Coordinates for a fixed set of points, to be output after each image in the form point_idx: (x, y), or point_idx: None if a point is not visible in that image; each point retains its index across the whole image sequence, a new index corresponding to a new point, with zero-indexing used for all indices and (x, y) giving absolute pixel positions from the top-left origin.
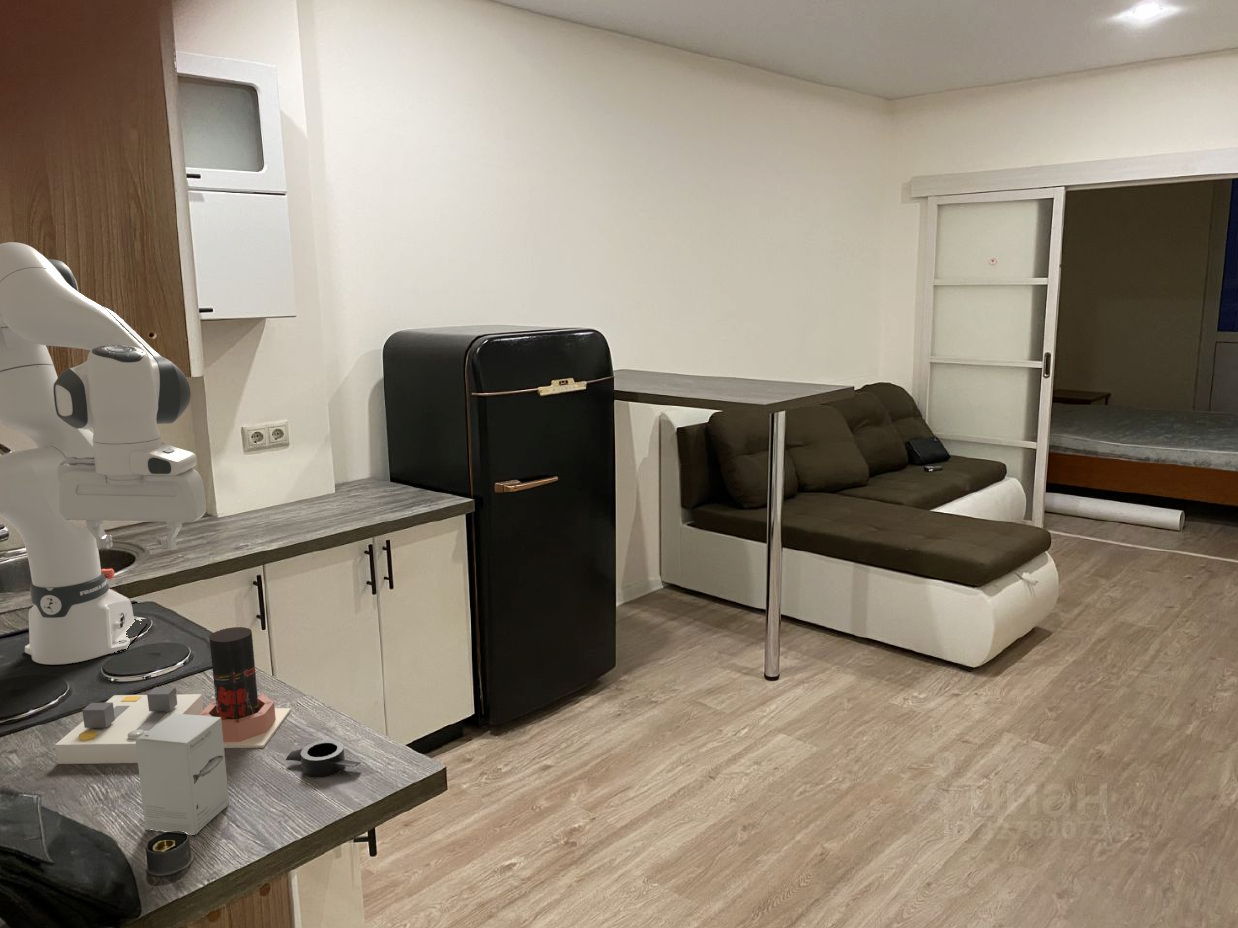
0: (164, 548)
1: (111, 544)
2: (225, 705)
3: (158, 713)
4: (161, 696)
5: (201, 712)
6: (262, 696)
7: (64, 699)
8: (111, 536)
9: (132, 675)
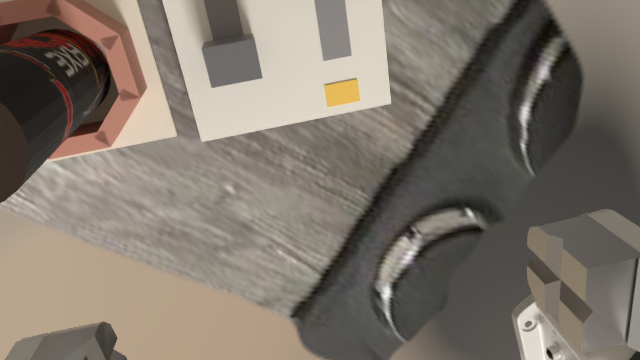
0: (73, 329)
1: (537, 288)
2: (28, 38)
3: (230, 34)
4: (219, 44)
5: (123, 47)
6: None
7: (511, 126)
8: (575, 339)
9: (443, 233)
